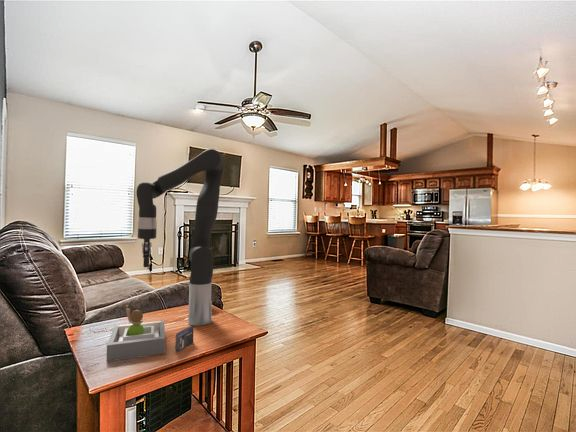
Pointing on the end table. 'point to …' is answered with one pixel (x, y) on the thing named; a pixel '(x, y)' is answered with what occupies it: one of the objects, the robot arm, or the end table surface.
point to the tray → (149, 332)
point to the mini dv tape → (184, 339)
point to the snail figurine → (135, 322)
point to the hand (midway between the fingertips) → (146, 266)
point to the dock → (135, 345)
